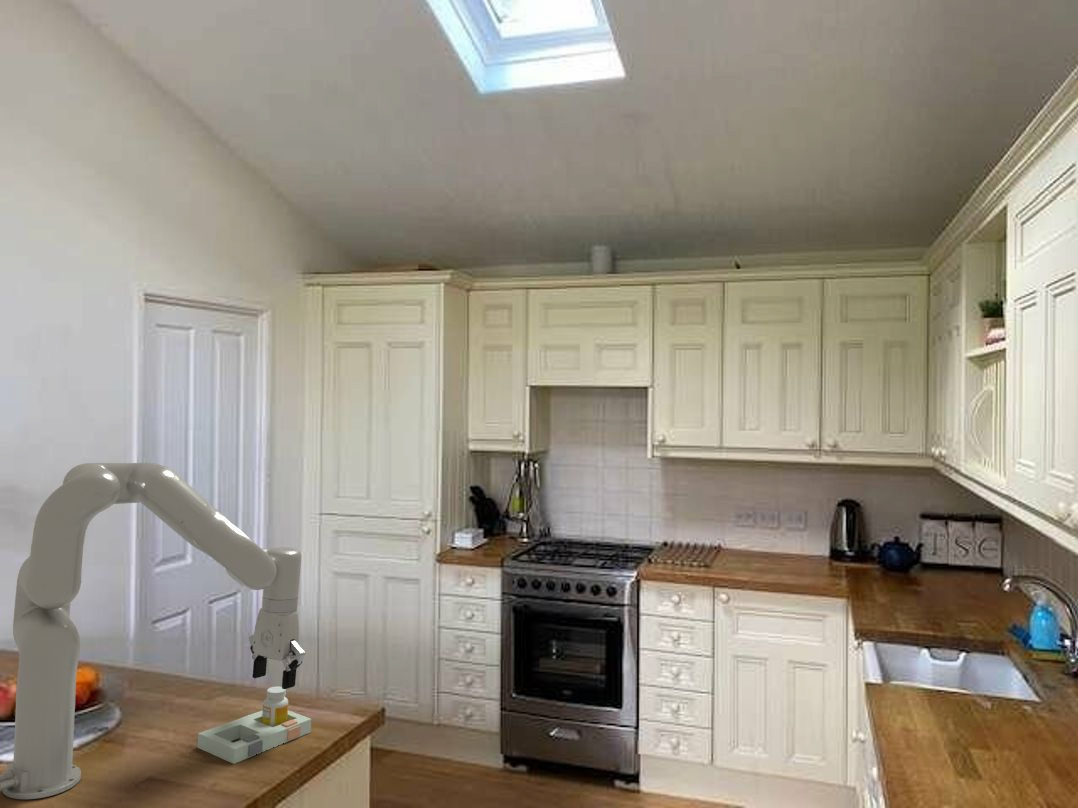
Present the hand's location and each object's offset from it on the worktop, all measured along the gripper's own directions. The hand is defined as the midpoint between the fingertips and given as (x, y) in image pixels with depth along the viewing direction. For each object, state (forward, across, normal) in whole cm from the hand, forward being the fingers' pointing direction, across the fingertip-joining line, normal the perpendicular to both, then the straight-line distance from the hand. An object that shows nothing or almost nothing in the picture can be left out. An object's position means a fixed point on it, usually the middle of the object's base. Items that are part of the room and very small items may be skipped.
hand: (273, 682), depth 180 cm
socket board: (+11, 0, -4) cm, 12 cm away
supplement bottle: (+12, 0, +1) cm, 12 cm away
